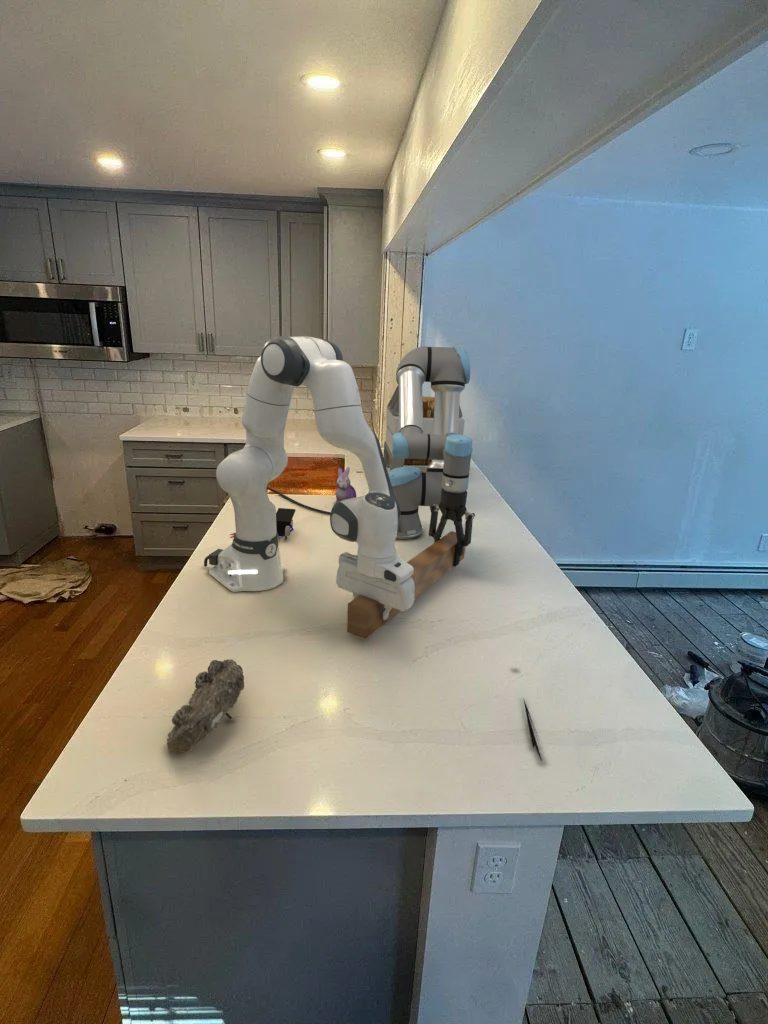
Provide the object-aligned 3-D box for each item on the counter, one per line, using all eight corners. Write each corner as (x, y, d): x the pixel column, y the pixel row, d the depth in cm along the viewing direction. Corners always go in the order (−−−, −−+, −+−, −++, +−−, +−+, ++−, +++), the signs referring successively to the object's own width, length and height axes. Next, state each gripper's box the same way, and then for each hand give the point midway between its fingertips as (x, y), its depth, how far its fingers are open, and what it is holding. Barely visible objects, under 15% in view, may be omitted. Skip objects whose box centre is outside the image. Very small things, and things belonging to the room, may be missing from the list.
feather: (515, 674, 127) (521, 668, 126) (541, 765, 100) (548, 758, 100) (509, 670, 127) (514, 664, 126) (533, 761, 100) (540, 753, 99)
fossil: (192, 660, 117) (244, 628, 112) (224, 691, 120) (276, 661, 115) (142, 746, 98) (202, 712, 93) (182, 779, 101) (242, 748, 96)
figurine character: (291, 546, 188) (296, 525, 202) (290, 526, 185) (296, 506, 198) (270, 546, 188) (277, 525, 201) (269, 526, 185) (276, 506, 198)
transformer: (382, 463, 289) (386, 382, 275) (445, 464, 293) (451, 384, 279) (390, 482, 257) (394, 392, 243) (460, 483, 261) (468, 394, 247)
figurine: (339, 509, 221) (340, 472, 216) (329, 501, 229) (330, 465, 224) (361, 506, 225) (362, 470, 220) (351, 498, 234) (352, 463, 228)
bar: (448, 553, 178) (451, 531, 176) (464, 558, 176) (466, 535, 173) (346, 632, 134) (347, 603, 131) (365, 639, 131) (366, 610, 129)
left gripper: (331, 554, 135) (329, 605, 139) (406, 579, 125) (401, 633, 130) (347, 546, 140) (344, 595, 145) (420, 569, 130) (415, 621, 135)
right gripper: (420, 485, 164) (414, 558, 173) (479, 499, 156) (470, 575, 164) (431, 479, 171) (425, 550, 179) (489, 492, 162) (480, 565, 170)
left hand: (372, 613), depth 137 cm, fingers closed on bar, 5 cm apart
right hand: (447, 561), depth 171 cm, fingers closed on bar, 5 cm apart
